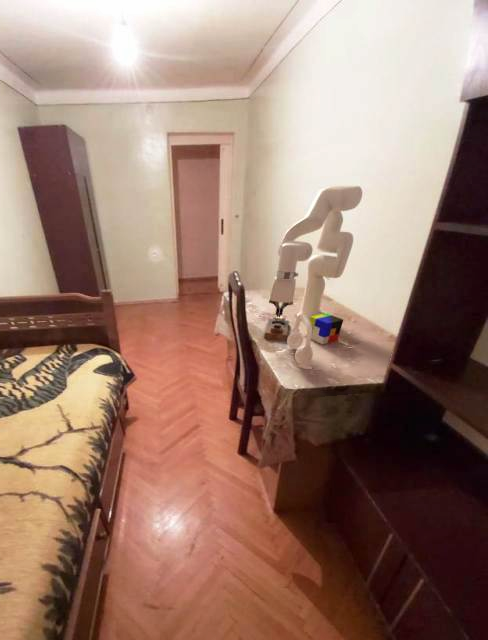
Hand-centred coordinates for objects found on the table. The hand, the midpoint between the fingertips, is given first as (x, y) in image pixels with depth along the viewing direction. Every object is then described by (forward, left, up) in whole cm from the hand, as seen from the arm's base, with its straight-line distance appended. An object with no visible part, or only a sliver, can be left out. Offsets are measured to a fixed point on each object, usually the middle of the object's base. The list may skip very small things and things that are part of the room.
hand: (278, 316), depth 147 cm
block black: (0, -12, -10) cm, 15 cm away
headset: (-11, +22, -10) cm, 27 cm away
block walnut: (0, 0, -10) cm, 10 cm away
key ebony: (0, 0, -6) cm, 6 cm away
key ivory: (0, -12, -6) cm, 13 cm away
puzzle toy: (-21, -3, -10) cm, 24 cm away
